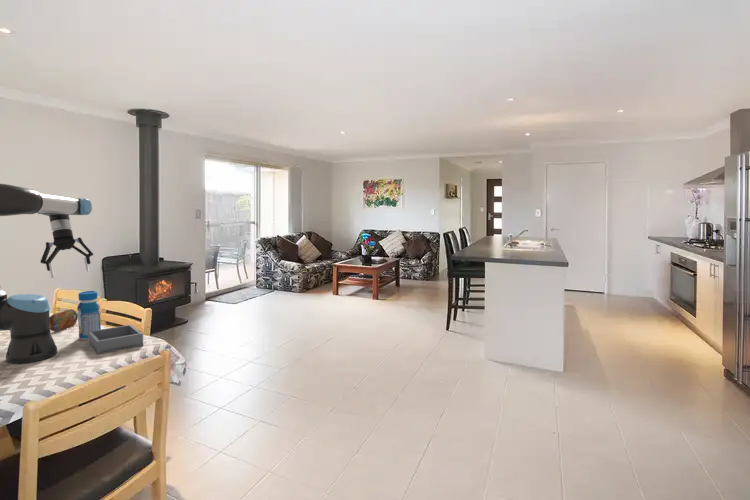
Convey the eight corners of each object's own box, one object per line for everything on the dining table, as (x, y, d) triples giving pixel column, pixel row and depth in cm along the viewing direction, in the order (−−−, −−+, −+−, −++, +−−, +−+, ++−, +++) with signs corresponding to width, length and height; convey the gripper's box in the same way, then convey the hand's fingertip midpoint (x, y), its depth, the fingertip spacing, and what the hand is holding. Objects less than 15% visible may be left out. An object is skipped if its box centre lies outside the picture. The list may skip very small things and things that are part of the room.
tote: (143, 345, 174) (142, 333, 173) (97, 354, 163) (97, 341, 162) (131, 335, 187) (130, 324, 186) (88, 343, 176) (87, 331, 175)
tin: (54, 333, 189) (53, 315, 188) (47, 333, 189) (46, 315, 188) (78, 324, 204) (77, 307, 203) (72, 324, 204) (71, 307, 203)
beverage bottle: (90, 341, 179) (87, 294, 177) (73, 339, 181) (70, 293, 179) (106, 335, 187) (104, 290, 185) (90, 333, 189) (88, 289, 187)
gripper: (94, 227, 207) (103, 269, 205) (31, 236, 196) (40, 280, 195) (91, 224, 200) (100, 267, 199) (26, 233, 189) (35, 279, 188)
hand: (71, 274), depth 197 cm, fingers open, 13 cm apart
